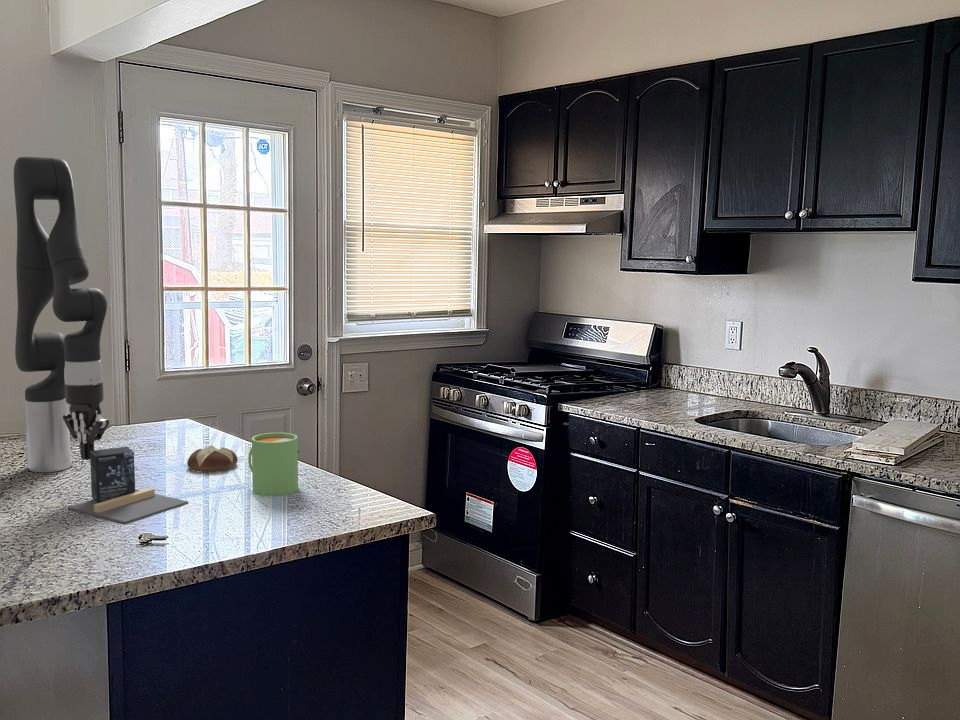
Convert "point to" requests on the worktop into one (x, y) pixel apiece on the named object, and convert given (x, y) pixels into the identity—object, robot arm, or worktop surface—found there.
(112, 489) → the box
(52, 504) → the worktop surface
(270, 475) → the mug
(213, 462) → the bread
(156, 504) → the mat
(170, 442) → the worktop surface
